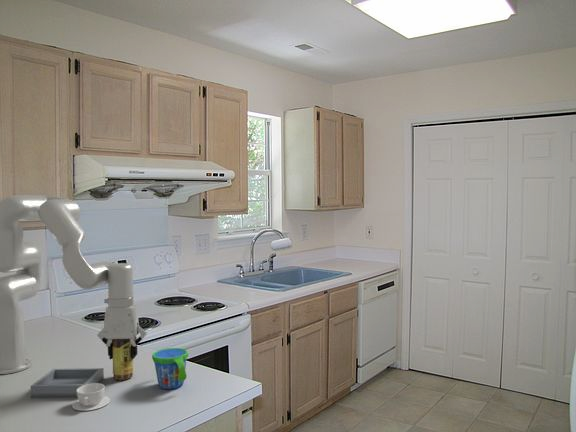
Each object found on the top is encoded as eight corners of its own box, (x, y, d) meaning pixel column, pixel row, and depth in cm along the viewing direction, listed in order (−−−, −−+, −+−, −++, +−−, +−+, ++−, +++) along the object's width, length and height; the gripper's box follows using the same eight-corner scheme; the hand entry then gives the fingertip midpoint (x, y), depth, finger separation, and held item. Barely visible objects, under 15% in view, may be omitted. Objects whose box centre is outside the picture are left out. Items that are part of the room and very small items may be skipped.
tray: (31, 397, 145) (30, 386, 145) (53, 379, 159) (53, 368, 159) (86, 397, 145) (85, 385, 145) (103, 378, 159) (103, 368, 159)
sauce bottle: (127, 382, 156) (125, 319, 155) (109, 380, 158) (107, 318, 157) (137, 374, 163) (135, 314, 162) (120, 373, 164) (118, 313, 163)
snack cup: (146, 381, 157) (145, 349, 156) (178, 374, 163) (177, 343, 162) (163, 398, 144) (162, 363, 143) (197, 389, 150) (196, 356, 149)
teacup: (79, 398, 145) (78, 382, 145) (114, 396, 146) (113, 380, 146) (66, 413, 135) (66, 396, 135) (104, 411, 136) (103, 394, 136)
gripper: (89, 305, 155) (91, 362, 156) (144, 304, 155) (146, 361, 156) (98, 300, 163) (100, 354, 164) (151, 299, 163) (153, 353, 164)
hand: (122, 357), depth 160 cm, fingers closed on sauce bottle, 6 cm apart
